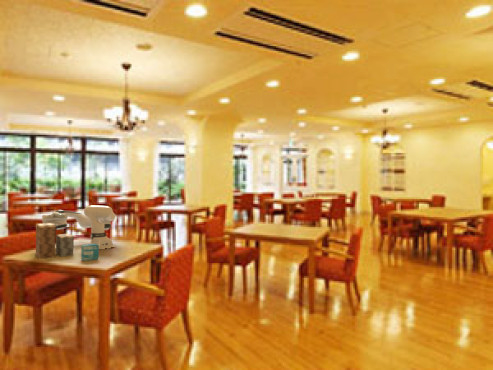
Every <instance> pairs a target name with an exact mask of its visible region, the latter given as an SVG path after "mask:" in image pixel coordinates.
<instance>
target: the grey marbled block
mask: <svg viewBox="0 0 493 370" xmlns="http://www.w3.org/2000/svg"><path fill="white" fill-rule="evenodd" d="M74 238H75V237H74V235H73V234H71V233H63V234H62V233H61V234H55V255H57V256H59V257H66V256H74V246H75V245H74Z"/></svg>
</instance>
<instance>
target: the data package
mask: <svg viewBox="0 0 493 370" xmlns="http://www.w3.org/2000/svg"><path fill="white" fill-rule="evenodd" d="M99 250H100V249H99V245H97V244H90V243H89V244H82V245H81V251H80V253H81V254H80V257H81V258H80V259H81V260H82V261H84V262H87V261H96V260H98V259H99V256H100V254H99V252H100V251H99Z"/></svg>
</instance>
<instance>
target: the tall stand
mask: <svg viewBox="0 0 493 370" xmlns="http://www.w3.org/2000/svg"><path fill="white" fill-rule="evenodd" d="M35 225H36V226H35V227H36V231H35V256H36V258H38V259H39V258H40V259H47V258H56V231H57V230H56V225H55V224H52V223H44V224H43V223H36V224H35Z"/></svg>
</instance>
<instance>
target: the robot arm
mask: <svg viewBox="0 0 493 370" xmlns="http://www.w3.org/2000/svg"><path fill="white" fill-rule="evenodd" d="M113 211H114V210H113V208H112V207H110V206H107V205H87V206H86V207H85V208H84V210H83V214H82V213H81V212H75V211H67V210H63V209H58V210H55V211H54V212H58V213H61V214H65V217H62V218H59V217H56V216H54V215H55V213H53V212H52V214H43V215H42V217H41V219H42V220H41V221H42V224H44V223H52V224H55V225H56V231H63V230H64V229H66V228H67V227H68V222H67V221H68V220H67V219H68V218H73V219H74V220H76V222H77V223H78V225H79V226H80V227H82V228H84V229H86V228H87V229H89V228H91V232H90V243H89V244H97V245H99V250H104V249H105V248H107V249H111V247H114V248H116V245H115V244H113V240H112V239H111V238H110V237H108V236H109V233H108V232H105V231H108V230H110V229H111V227H112V224H111V222H113V221H114V220H115V218H116V214H115V213H114V212H113Z"/></svg>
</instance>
